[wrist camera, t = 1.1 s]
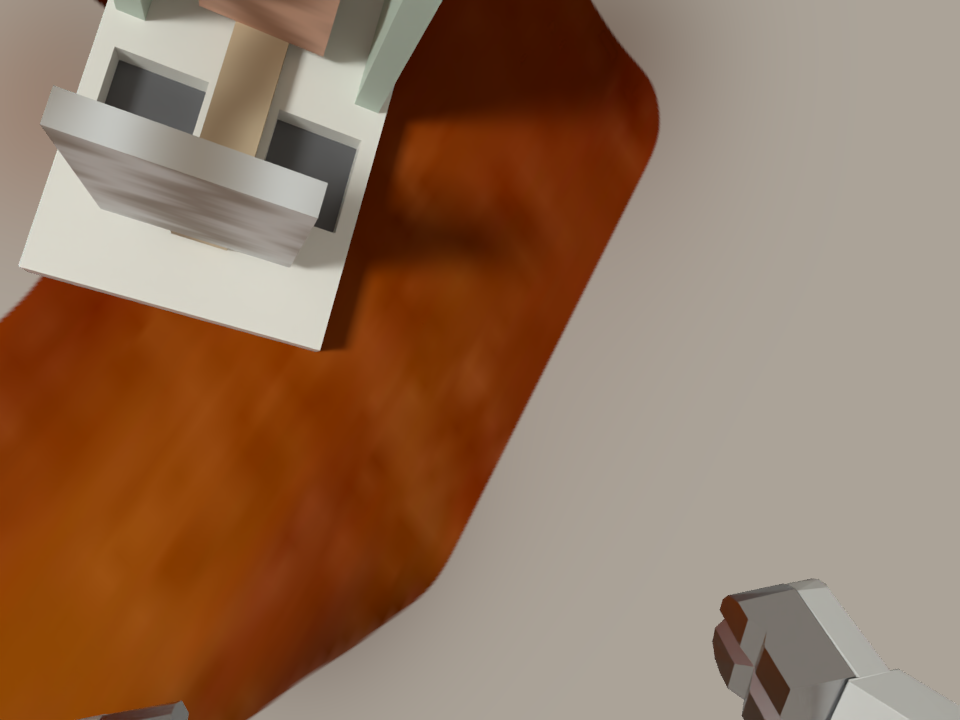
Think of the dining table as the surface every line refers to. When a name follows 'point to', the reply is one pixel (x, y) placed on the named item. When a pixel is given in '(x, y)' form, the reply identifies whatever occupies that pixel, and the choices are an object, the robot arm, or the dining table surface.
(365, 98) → the tunnel
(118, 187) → the grey piece
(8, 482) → the dining table surface
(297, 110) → the board
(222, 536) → the dining table surface
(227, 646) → the dining table surface
